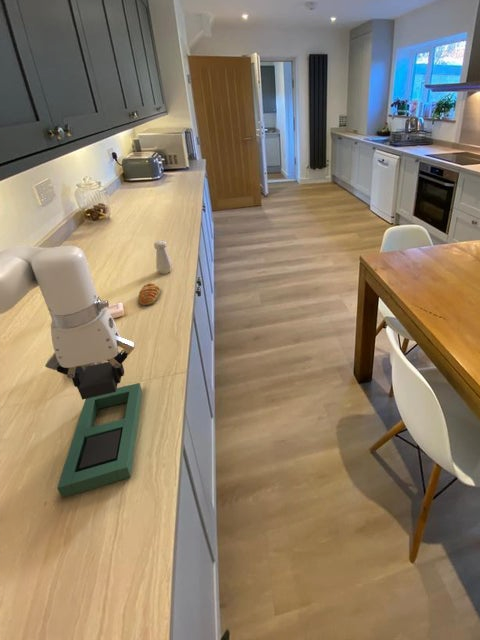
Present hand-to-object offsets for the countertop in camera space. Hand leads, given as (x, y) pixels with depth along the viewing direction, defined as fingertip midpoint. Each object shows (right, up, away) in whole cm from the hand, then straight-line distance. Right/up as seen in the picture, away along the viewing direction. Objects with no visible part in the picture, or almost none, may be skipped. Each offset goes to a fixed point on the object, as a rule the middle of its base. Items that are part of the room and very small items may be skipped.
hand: (101, 381), depth 67 cm
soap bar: (-21, +5, +37) cm, 43 cm away
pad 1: (0, -1, 0) cm, 1 cm away
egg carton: (-16, -3, +20) cm, 26 cm away
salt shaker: (-13, +17, +63) cm, 67 cm away
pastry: (-11, +9, +46) cm, 49 cm away
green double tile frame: (+1, -12, 0) cm, 12 cm away
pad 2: (+3, -13, -4) cm, 14 cm away
